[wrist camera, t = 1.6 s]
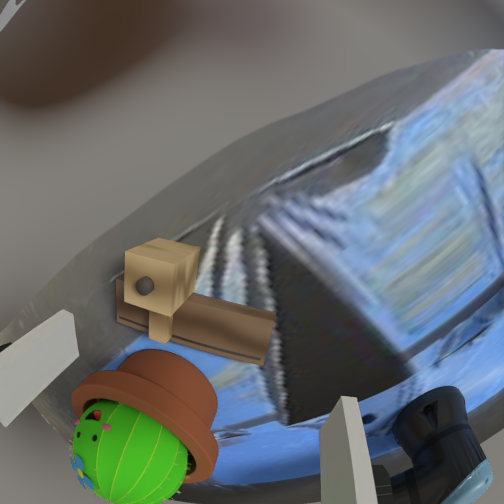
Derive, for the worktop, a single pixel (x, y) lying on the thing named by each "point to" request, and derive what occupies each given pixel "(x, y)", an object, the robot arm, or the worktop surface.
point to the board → (209, 325)
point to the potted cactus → (144, 428)
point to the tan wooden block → (160, 281)
